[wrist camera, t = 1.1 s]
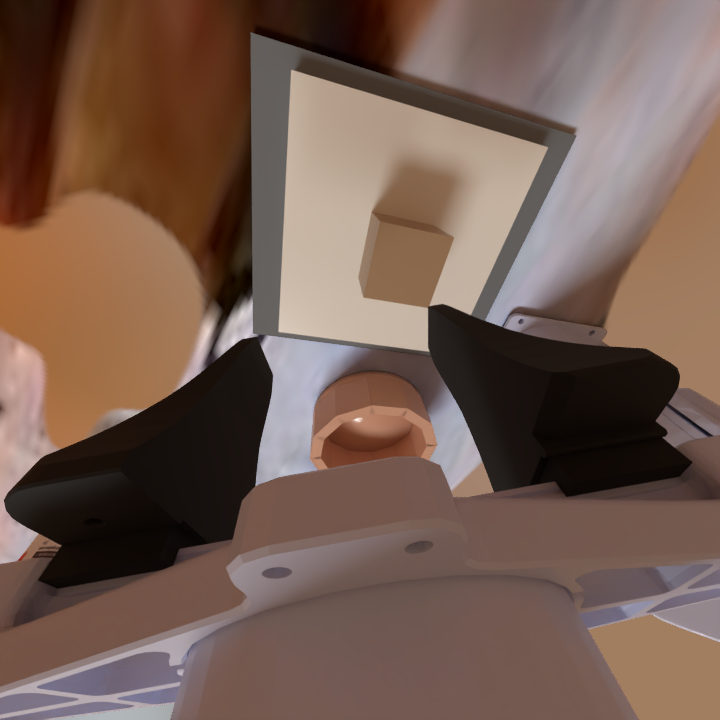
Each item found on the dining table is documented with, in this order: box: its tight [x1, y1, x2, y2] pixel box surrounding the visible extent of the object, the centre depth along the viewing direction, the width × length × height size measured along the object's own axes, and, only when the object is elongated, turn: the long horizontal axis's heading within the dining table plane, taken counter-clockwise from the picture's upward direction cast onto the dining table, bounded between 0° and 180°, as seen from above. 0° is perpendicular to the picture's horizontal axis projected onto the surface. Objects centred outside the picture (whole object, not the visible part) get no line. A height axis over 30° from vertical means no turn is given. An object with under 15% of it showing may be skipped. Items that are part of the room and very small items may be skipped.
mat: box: [251, 33, 576, 356], centre depth 19 cm, size 18×16×1 cm
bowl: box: [310, 371, 437, 470], centre depth 27 cm, size 11×11×4 cm
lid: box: [278, 70, 548, 352], centre depth 17 cm, size 14×14×4 cm
